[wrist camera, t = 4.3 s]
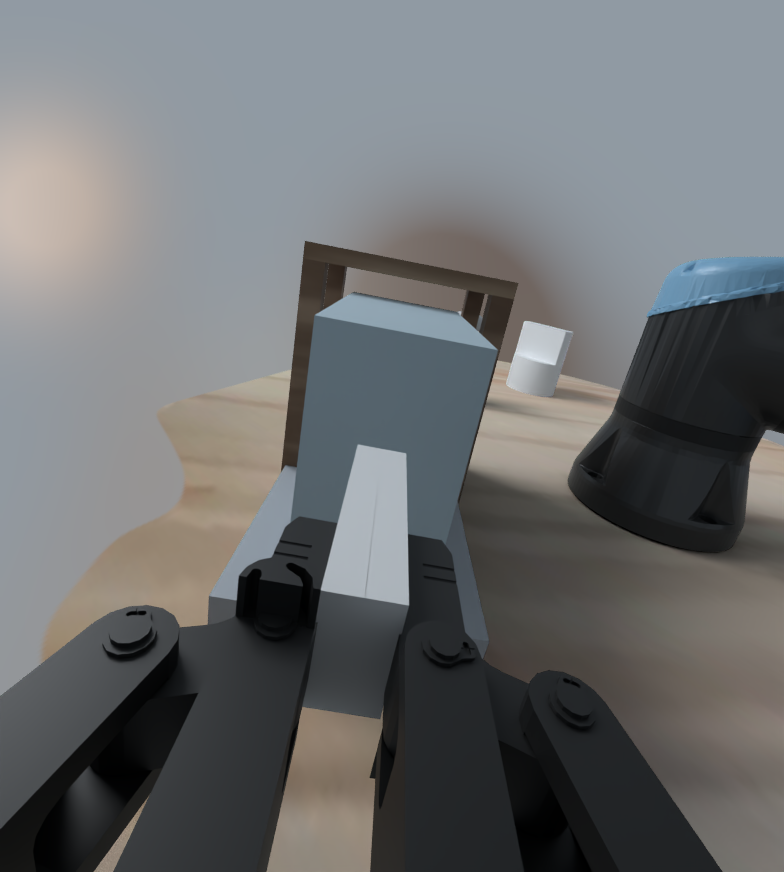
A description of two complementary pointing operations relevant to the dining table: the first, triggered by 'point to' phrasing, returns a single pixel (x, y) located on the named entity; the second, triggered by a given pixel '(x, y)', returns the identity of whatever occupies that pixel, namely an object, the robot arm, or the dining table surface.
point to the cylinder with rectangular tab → (538, 359)
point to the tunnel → (340, 259)
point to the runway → (267, 536)
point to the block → (391, 404)
